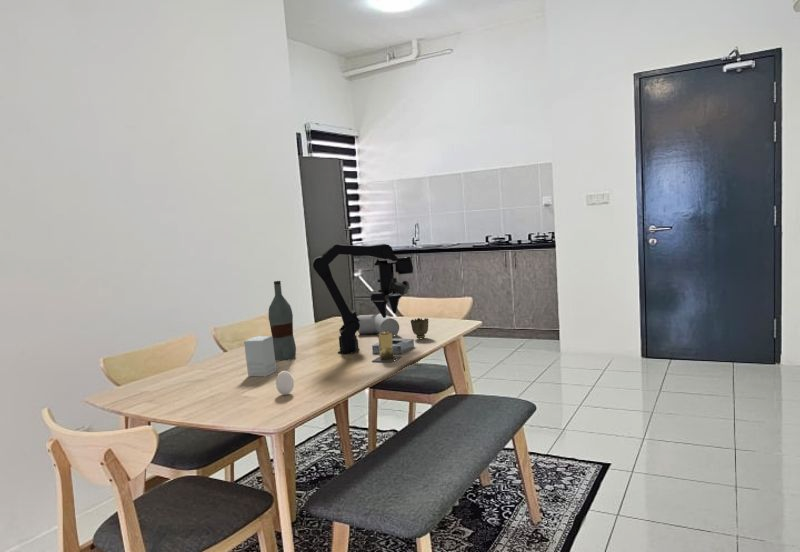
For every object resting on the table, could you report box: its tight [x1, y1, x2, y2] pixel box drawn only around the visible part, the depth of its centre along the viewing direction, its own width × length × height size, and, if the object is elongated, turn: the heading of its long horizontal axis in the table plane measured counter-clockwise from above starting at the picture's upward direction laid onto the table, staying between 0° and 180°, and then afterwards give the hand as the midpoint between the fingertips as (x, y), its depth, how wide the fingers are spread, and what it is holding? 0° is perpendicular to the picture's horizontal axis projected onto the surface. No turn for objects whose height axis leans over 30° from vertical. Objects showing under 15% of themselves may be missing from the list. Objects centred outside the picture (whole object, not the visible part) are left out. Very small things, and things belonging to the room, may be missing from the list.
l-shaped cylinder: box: [357, 312, 400, 337], centre depth 252 cm, size 18×11×20 cm
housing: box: [371, 338, 415, 354], centre depth 220 cm, size 12×12×3 cm
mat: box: [371, 355, 403, 363], centre depth 206 cm, size 8×8×1 cm
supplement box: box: [243, 335, 277, 377], centre depth 200 cm, size 7×7×13 cm
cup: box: [410, 317, 429, 339], centre depth 237 cm, size 8×7×8 cm
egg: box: [275, 370, 295, 396], centre depth 173 cm, size 5×5×7 cm
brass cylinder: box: [377, 331, 395, 360], centre depth 206 cm, size 5×5×10 cm
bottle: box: [268, 280, 297, 362], centre depth 219 cm, size 9×9×30 cm
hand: (389, 315), depth 225 cm, fingers open, 9 cm apart
